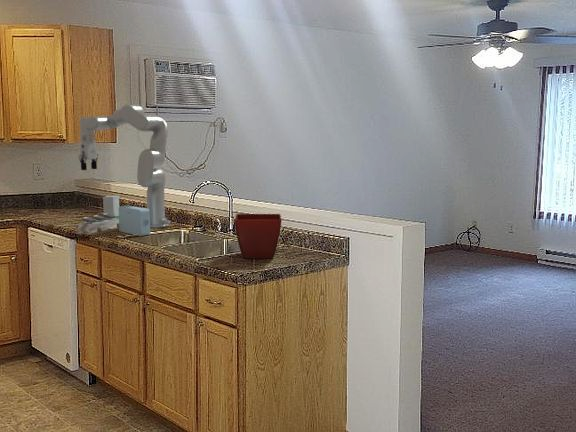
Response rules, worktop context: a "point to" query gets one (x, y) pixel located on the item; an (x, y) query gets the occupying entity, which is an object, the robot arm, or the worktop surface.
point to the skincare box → (111, 205)
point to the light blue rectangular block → (134, 220)
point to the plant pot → (258, 234)
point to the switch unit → (98, 227)
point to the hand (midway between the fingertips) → (89, 169)
